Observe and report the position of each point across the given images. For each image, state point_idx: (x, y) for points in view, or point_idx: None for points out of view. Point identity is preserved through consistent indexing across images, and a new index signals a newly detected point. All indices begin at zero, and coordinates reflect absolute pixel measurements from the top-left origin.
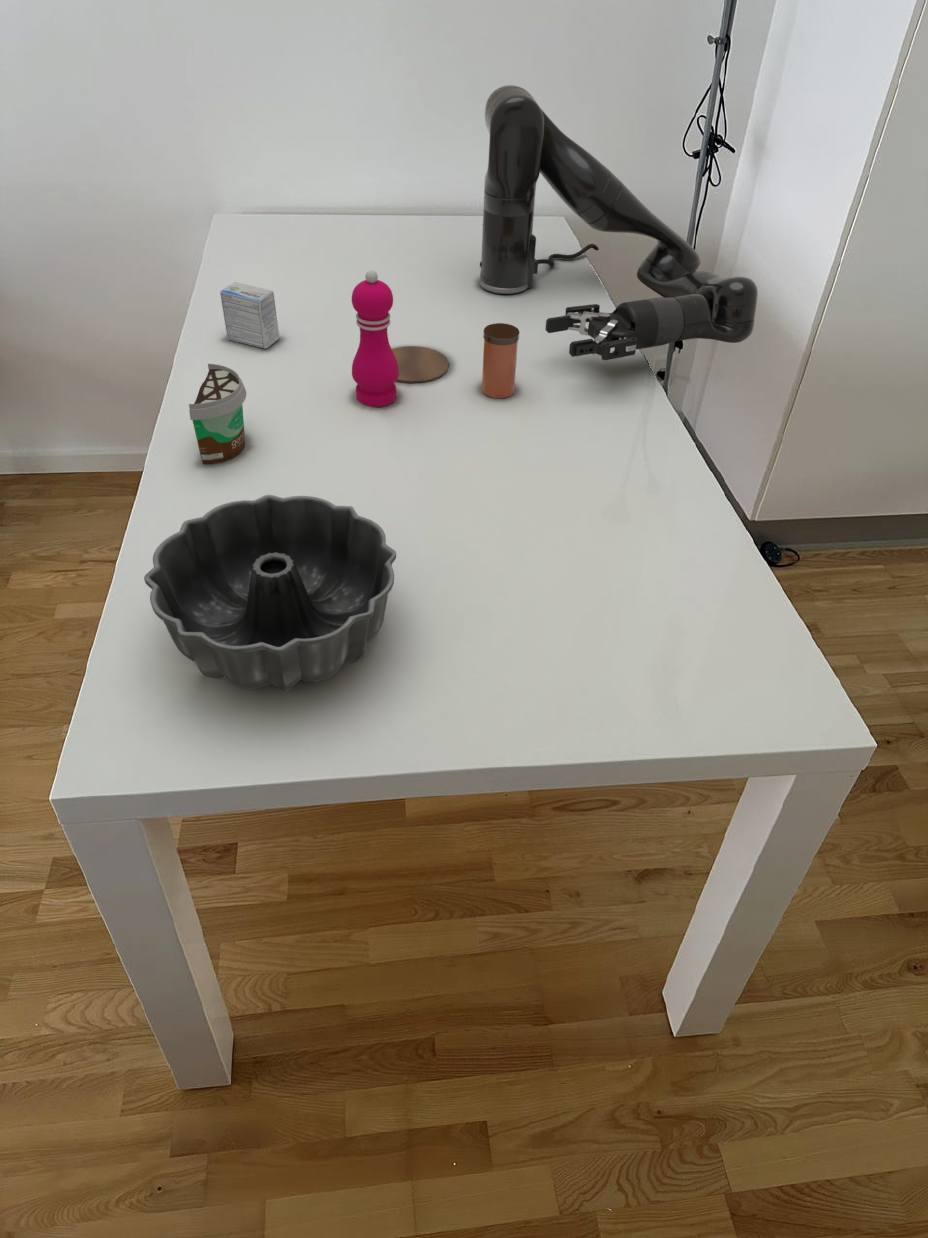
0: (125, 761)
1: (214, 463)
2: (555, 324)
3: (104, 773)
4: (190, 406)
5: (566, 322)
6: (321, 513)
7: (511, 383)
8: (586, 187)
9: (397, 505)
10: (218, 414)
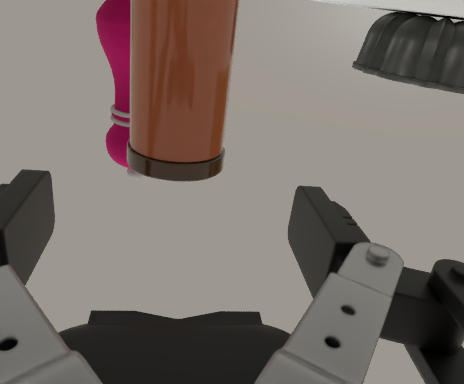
0: (451, 19)
1: None
2: (40, 225)
3: None
4: None
5: (17, 268)
6: (403, 71)
7: (233, 21)
8: None
9: (402, 7)
10: None
